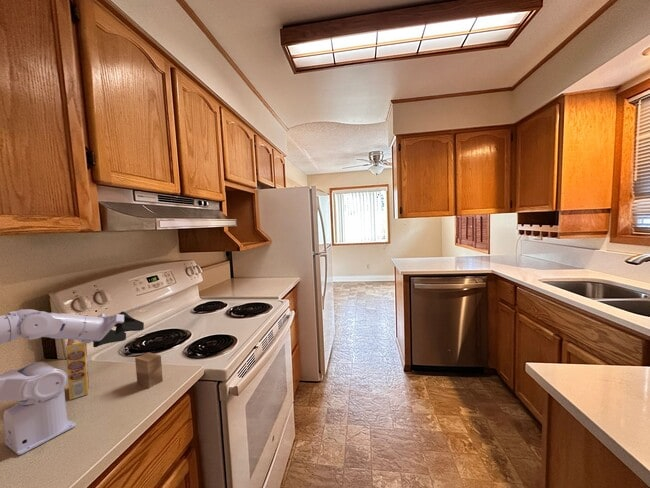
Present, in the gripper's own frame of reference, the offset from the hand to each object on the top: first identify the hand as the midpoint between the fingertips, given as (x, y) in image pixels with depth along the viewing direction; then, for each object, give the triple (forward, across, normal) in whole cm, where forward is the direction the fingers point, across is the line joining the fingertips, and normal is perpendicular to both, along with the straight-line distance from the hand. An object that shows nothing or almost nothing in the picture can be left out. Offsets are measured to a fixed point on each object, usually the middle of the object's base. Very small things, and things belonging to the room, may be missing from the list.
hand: (134, 331), depth 80 cm
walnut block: (+10, +6, +12) cm, 17 cm away
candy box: (-1, +22, +9) cm, 24 cm away
